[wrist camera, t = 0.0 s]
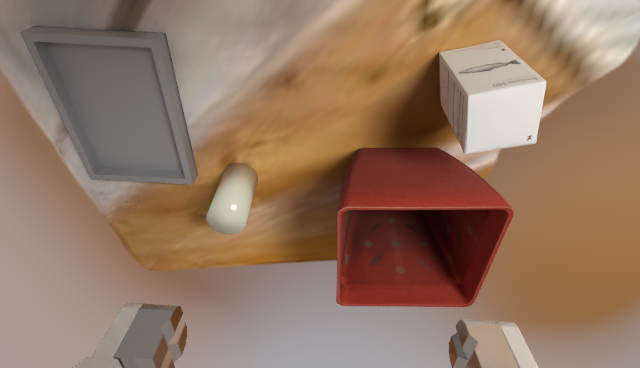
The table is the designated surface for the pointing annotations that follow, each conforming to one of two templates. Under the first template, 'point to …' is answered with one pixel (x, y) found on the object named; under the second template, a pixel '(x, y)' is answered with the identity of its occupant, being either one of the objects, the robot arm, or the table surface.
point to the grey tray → (117, 101)
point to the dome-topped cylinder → (233, 199)
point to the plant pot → (415, 229)
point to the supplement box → (490, 97)
